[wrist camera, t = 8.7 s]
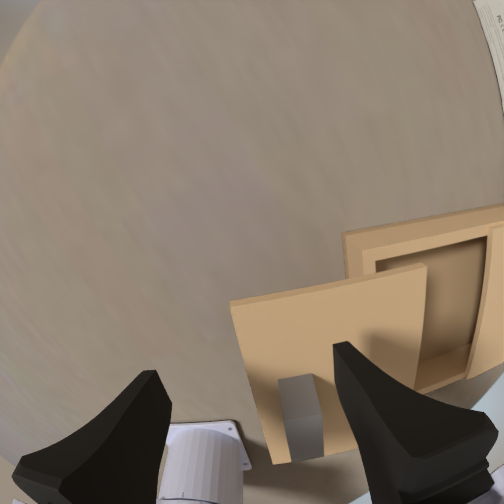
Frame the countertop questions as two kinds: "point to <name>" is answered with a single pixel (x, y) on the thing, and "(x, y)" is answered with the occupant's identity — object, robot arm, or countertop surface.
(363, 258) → the carton
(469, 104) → the countertop surface
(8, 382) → the countertop surface
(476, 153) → the countertop surface
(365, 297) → the lid flap
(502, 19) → the hard drive box
